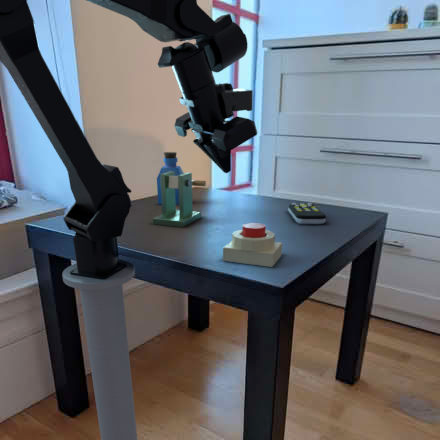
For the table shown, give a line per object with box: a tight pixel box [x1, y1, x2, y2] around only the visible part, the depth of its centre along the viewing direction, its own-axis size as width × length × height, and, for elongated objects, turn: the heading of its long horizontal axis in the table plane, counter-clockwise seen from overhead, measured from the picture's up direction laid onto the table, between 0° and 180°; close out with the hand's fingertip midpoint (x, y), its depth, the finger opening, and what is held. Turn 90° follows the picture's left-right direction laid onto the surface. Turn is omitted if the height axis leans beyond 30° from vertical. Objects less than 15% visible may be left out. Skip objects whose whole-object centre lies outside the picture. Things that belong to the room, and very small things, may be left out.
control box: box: [222, 229, 283, 268], centre depth 66 cm, size 6×8×4 cm
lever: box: [169, 176, 207, 189], centre depth 89 cm, size 10×6×2 cm, turn 159°
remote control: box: [287, 202, 327, 225], centre depth 92 cm, size 6×13×2 cm, turn 1°
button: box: [241, 222, 267, 238], centre depth 65 cm, size 4×4×2 cm
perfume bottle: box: [156, 151, 184, 206], centre depth 104 cm, size 6×6×12 cm
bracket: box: [152, 171, 202, 228], centre depth 87 cm, size 9×7×10 cm
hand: (227, 171), depth 77 cm, fingers closed
